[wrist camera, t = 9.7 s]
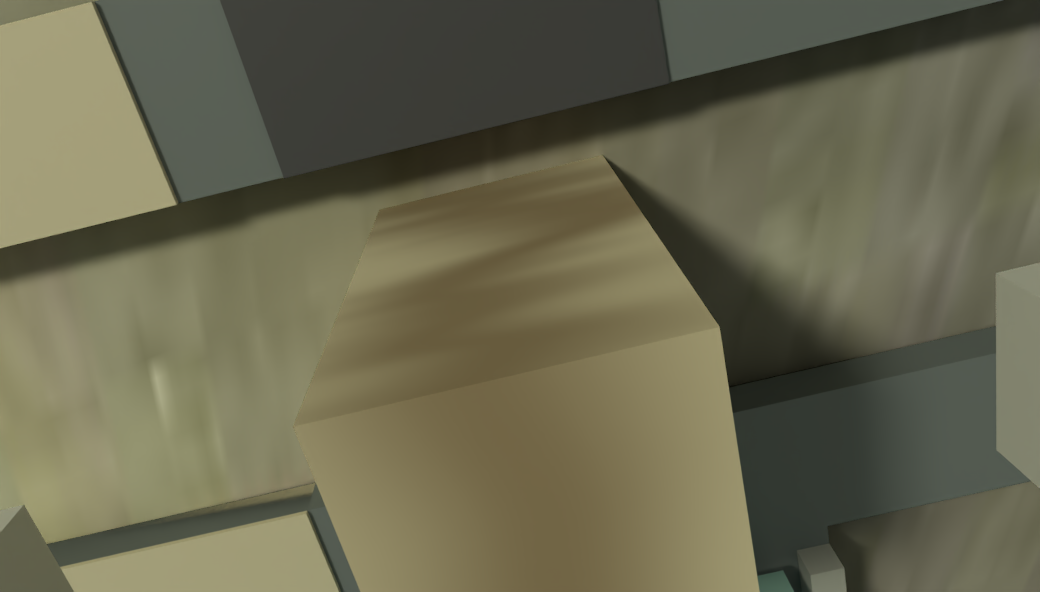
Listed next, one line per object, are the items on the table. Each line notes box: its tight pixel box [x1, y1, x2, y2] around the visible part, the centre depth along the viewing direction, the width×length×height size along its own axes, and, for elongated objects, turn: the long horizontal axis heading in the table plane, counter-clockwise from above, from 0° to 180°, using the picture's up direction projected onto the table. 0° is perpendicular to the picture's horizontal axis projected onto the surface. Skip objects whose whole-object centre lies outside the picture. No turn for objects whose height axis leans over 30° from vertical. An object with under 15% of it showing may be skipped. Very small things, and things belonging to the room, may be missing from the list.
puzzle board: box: [0, 0, 1031, 592], centre depth 18 cm, size 27×26×2 cm
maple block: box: [293, 155, 760, 592], centre depth 13 cm, size 4×4×8 cm
